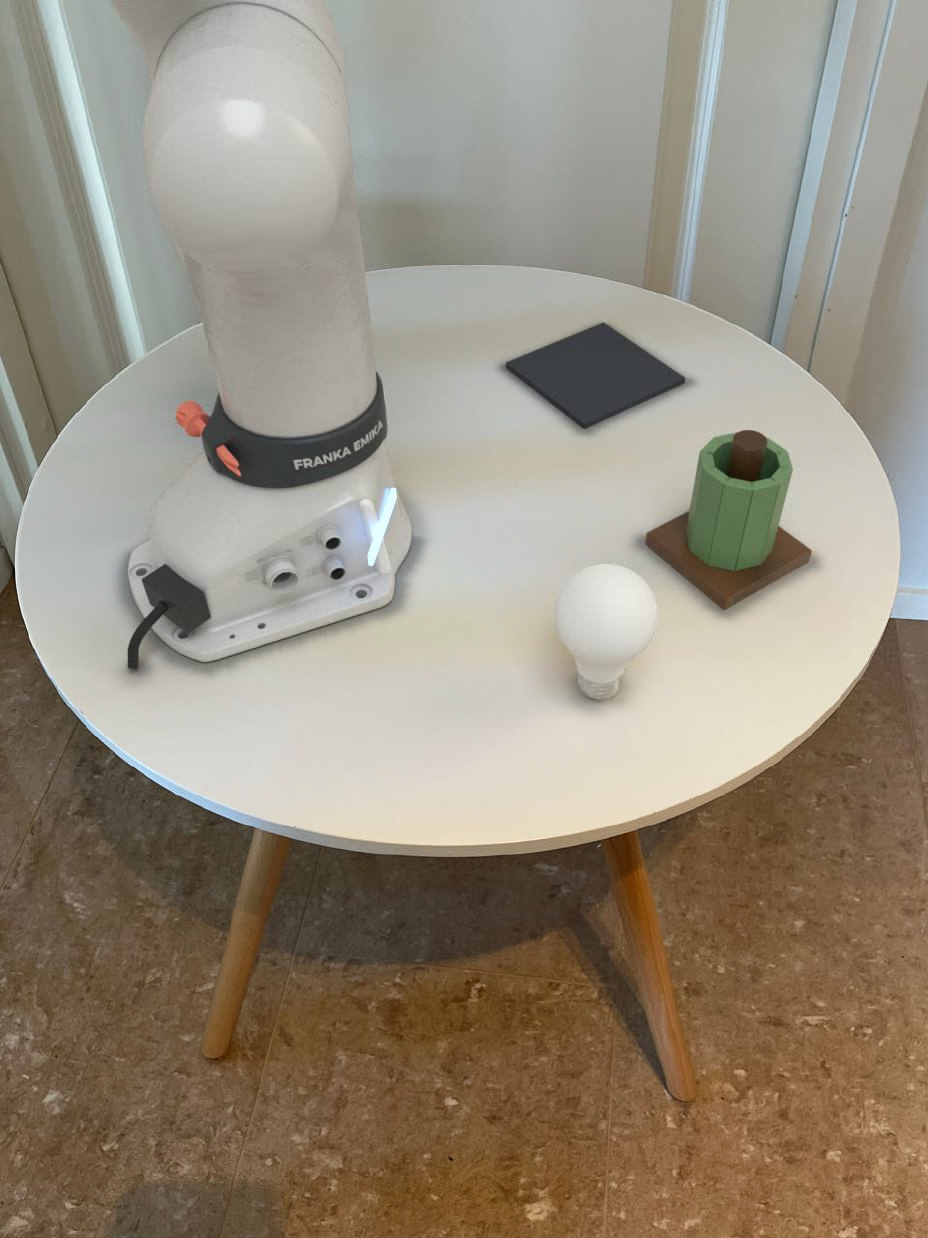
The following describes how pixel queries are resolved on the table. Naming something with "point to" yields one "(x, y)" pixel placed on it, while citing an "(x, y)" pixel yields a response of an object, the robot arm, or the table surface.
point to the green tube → (736, 507)
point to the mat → (594, 374)
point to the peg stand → (722, 582)
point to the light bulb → (605, 624)
